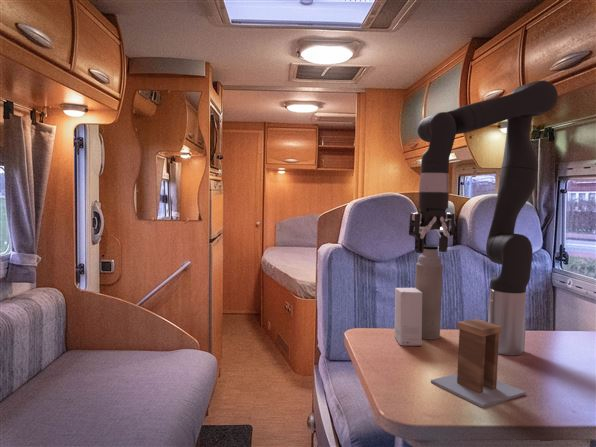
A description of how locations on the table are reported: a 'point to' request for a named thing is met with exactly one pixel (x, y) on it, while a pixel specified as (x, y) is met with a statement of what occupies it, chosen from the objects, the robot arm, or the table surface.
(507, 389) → the mat
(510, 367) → the table surface
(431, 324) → the thermos bottle
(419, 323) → the skincare box
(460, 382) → the stool
